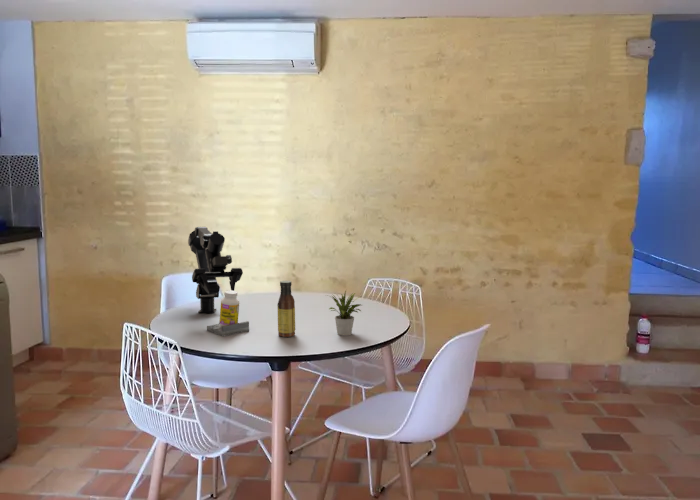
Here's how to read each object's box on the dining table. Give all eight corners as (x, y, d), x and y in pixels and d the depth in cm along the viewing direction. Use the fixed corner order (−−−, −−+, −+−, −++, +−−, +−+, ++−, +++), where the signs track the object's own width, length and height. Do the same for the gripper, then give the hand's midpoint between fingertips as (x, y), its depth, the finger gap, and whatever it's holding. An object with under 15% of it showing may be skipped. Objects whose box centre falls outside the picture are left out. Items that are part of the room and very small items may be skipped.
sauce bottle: (286, 332, 200) (287, 279, 198) (298, 335, 196) (299, 281, 194) (273, 335, 195) (273, 281, 193) (285, 338, 191) (286, 283, 189)
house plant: (327, 340, 190) (327, 294, 188) (318, 330, 203) (318, 287, 201) (365, 338, 194) (366, 293, 192) (354, 328, 207) (355, 286, 205)
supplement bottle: (217, 327, 198) (219, 293, 195) (221, 321, 204) (224, 288, 202) (235, 329, 198) (237, 295, 195) (239, 323, 204) (241, 290, 202)
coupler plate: (207, 330, 201) (206, 320, 200) (232, 325, 208) (232, 316, 208) (223, 336, 193) (223, 326, 193) (249, 330, 201) (249, 321, 200)
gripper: (194, 247, 205) (201, 282, 197) (242, 247, 214) (250, 280, 206) (189, 265, 213) (195, 298, 204) (235, 264, 222) (242, 296, 214)
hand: (221, 293), depth 207 cm, fingers open, 9 cm apart
